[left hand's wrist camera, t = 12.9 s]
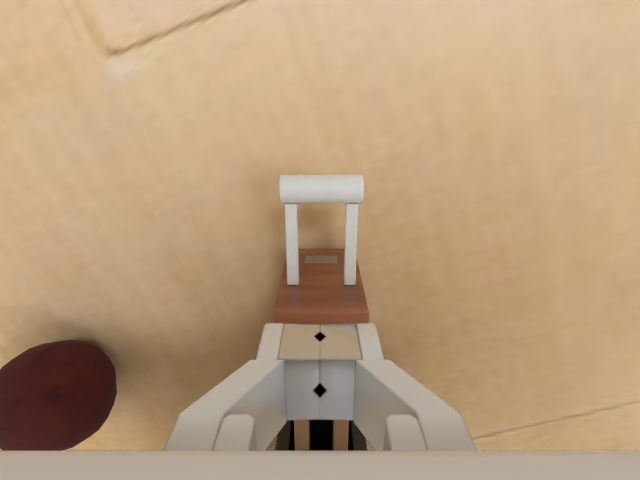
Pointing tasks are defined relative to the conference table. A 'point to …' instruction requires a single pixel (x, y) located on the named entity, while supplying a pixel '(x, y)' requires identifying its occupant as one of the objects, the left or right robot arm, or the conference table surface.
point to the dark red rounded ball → (55, 396)
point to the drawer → (321, 283)
